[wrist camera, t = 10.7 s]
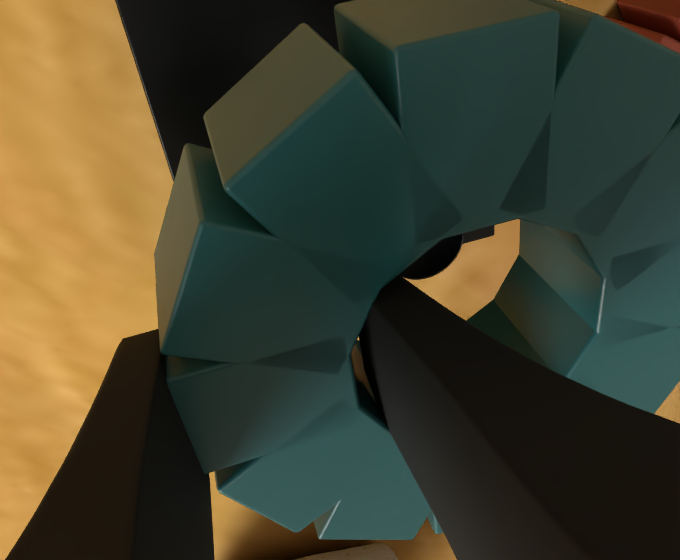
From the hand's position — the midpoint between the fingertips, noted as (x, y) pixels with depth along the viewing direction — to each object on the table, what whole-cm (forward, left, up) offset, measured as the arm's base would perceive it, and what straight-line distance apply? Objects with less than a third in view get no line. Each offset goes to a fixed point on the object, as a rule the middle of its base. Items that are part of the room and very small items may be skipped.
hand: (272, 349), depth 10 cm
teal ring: (-3, 0, -1) cm, 3 cm away
